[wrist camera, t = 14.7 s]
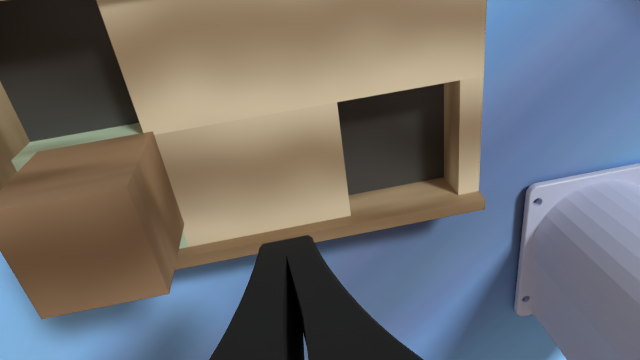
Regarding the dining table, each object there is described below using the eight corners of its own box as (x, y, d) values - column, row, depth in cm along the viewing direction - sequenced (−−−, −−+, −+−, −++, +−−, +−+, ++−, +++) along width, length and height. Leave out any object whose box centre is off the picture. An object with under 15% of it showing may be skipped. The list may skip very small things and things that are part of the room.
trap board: (461, 181, 24) (492, 218, 21) (71, 256, 23) (43, 307, 19) (466, -95, 18) (513, -101, 15) (-67, -11, 16) (-138, 1, 13)
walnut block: (184, 223, 20) (169, 293, 16) (81, 243, 20) (41, 319, 16) (152, 131, 18) (126, 186, 14) (37, 151, 18) (-23, 213, 14)
